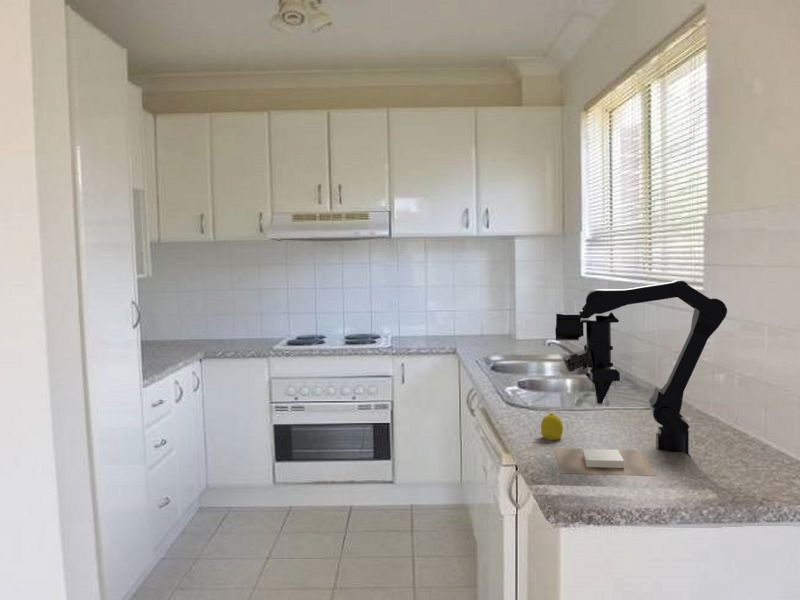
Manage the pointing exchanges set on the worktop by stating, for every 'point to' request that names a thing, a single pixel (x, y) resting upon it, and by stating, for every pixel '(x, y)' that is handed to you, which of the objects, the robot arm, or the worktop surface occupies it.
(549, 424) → the lemon
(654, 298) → the robot arm
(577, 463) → the board
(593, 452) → the block
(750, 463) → the worktop surface
